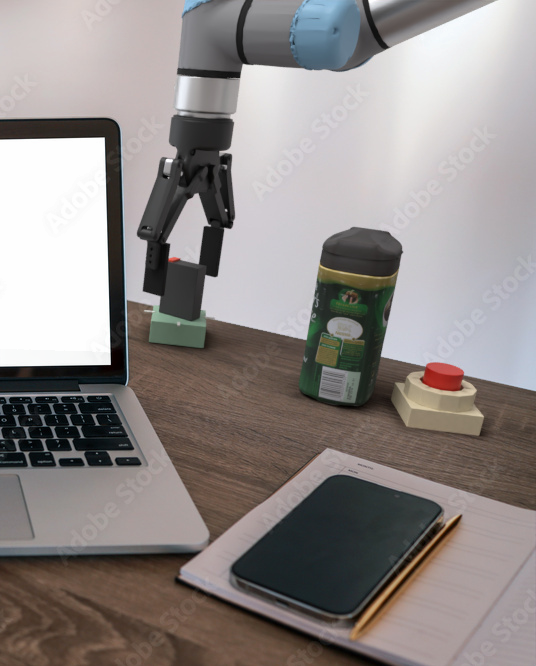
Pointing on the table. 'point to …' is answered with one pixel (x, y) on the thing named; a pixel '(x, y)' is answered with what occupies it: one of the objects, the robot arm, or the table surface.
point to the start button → (443, 376)
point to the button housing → (437, 406)
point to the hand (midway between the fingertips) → (181, 284)
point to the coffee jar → (350, 315)
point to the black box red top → (183, 289)
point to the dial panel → (177, 329)
